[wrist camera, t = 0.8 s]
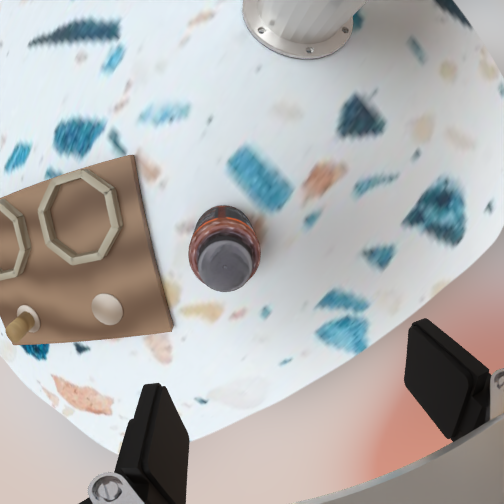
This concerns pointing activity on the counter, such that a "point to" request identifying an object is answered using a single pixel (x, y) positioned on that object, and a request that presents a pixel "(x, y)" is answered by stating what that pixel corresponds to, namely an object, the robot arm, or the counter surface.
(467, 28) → the counter surface
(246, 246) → the supplement bottle
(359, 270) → the counter surface
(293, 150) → the counter surface
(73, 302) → the board
